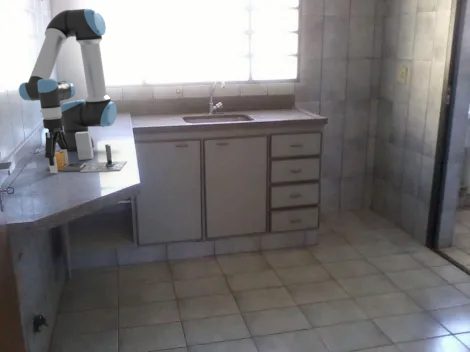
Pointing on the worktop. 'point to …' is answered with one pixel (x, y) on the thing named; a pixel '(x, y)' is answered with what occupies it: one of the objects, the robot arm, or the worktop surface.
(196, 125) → the worktop surface
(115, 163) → the post
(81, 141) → the skincare box
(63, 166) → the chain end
